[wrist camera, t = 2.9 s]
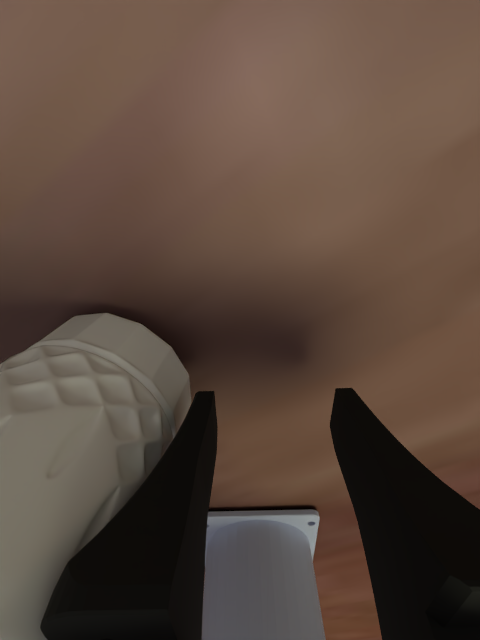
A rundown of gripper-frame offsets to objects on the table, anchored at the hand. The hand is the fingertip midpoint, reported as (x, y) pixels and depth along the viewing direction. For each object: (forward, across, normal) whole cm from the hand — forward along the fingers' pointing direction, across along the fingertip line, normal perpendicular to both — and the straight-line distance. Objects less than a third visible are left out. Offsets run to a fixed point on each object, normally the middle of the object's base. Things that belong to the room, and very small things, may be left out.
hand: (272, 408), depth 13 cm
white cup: (+3, +7, 0) cm, 7 cm away
